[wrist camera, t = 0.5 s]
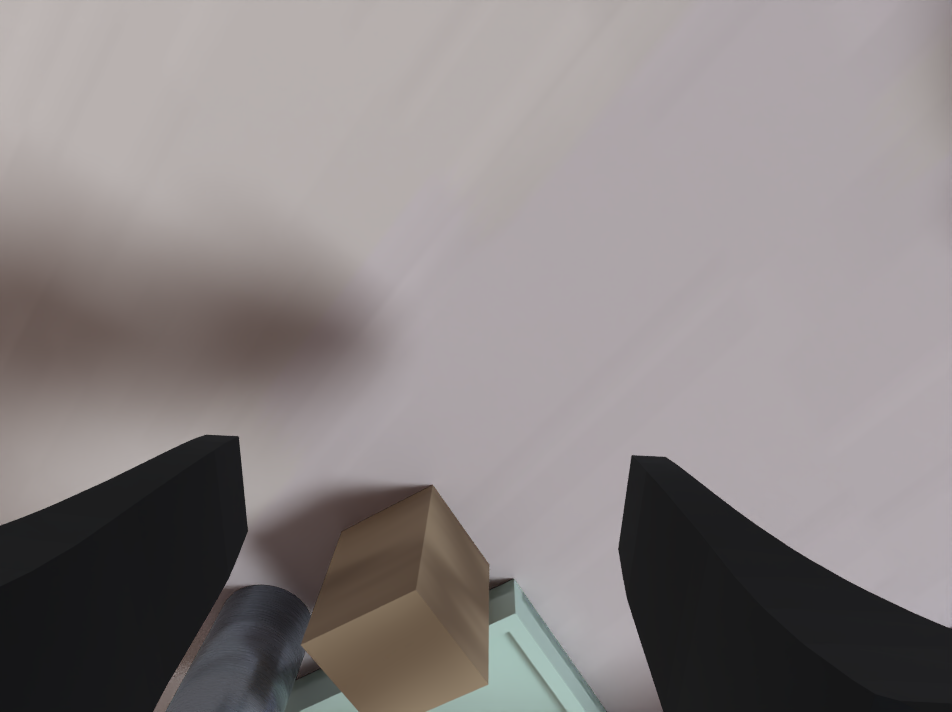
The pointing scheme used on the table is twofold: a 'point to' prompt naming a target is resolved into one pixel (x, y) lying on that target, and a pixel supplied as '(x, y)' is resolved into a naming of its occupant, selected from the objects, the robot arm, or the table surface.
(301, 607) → the peg
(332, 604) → the block
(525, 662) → the tray
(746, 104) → the table surface
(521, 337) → the table surface
